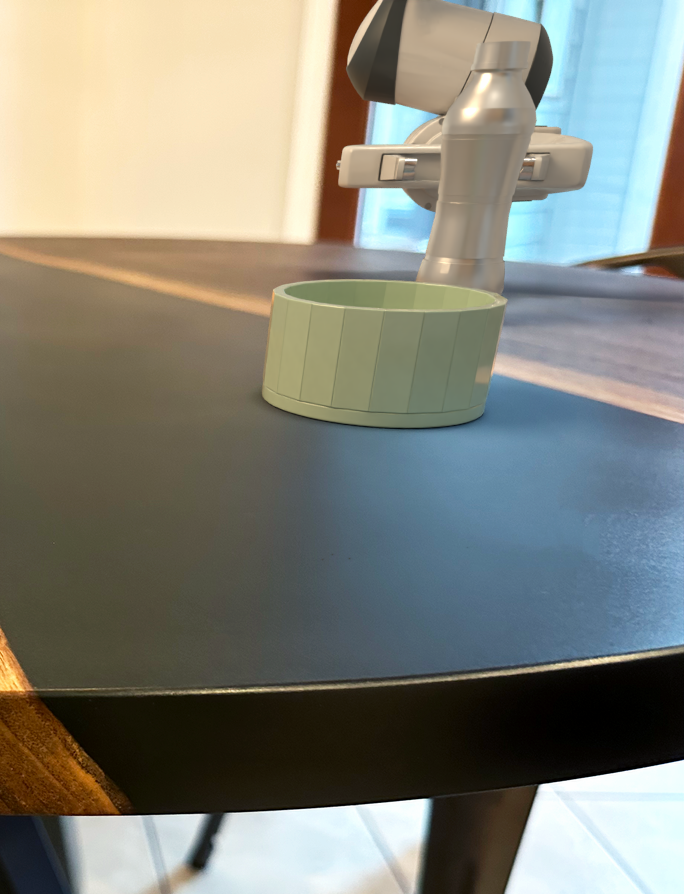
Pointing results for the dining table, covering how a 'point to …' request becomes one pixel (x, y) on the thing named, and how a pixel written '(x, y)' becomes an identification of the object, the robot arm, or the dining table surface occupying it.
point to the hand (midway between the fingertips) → (467, 168)
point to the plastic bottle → (480, 170)
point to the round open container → (382, 351)
